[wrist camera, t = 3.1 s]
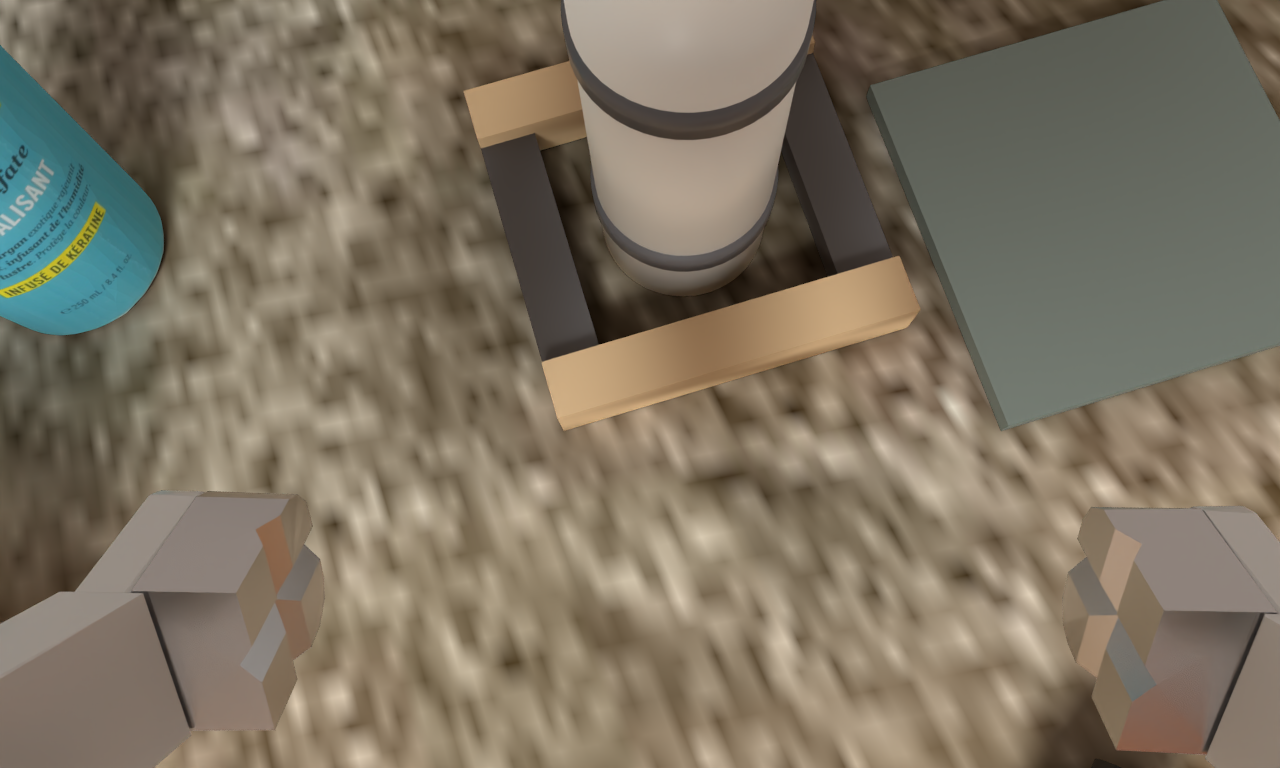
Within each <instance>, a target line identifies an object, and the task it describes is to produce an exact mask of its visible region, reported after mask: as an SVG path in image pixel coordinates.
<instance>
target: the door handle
mask: <svg viewBox="0 0 1280 768" xmlns="http://www.w3.org/2000/svg"><path fill="white" fill-rule="evenodd" d="M1092 768H1121V767H1118V766H1116V765H1114V764H1111V763H1109V762H1106V761H1103V760H1100V759H1095V761H1094V763H1093V765H1092Z"/></svg>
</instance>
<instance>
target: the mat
mask: <svg viewBox="0 0 1280 768" xmlns="http://www.w3.org/2000/svg"><path fill="white" fill-rule="evenodd" d="M866 98H867V100H868V103H869V105H870V107H871V110H872V112H873V115H874V117H875V120H876V122H877V125H878V127H879V130H880V132H881V135H882V137H883V140H884V142H885V145H886V147H887V150H888V152H889V155H890V157H891V160H892V162H893V165H894V167H895V169H896V172H897V174H898V177H899V179H900V182H901V184H902V187H903V189H904V192H905V194H906V197H907V199H908V202H909V204H910V207H911V209H912V212H913V214H914V217H915V219H916V222H917V224H918V227H919V229H920V231H921V234H922V236H923V239H924V241H925V244H926V246H927V249H928V251H929V254H930V256H931V259H932V261H933V264H934V266H935V269H936V271H937V274H938V276H939V279H940V281H941V284H942V286H943V289H944V291H945V293H946V296H947V298H948V301H949V303H950V306H951V308H952V311H953V313H954V316H955V318H956V321H957V323H958V326H959V328H960V331H961V333H962V336H963V338H964V341H965V343H966V346H967V348H968V351H969V353H970V355H971V358H972V360H973V363H974V365H975V368H976V370H977V373H978V375H979V378H980V380H981V383H982V385H983V388H984V390H985V393H986V395H987V398H988V400H989V403H990V405H991V408H992V410H993V413H994V415H995V417H996V420H997V422H998V425H999V427H1000V430H1001V431H1003V430H1006V429H1009V428H1012V427H1016V426H1019V425H1022V424H1025V423H1029V422H1032V421H1035V420H1038V419H1042V418H1045V417H1048V416H1052V415H1055V414H1058V413H1061V412H1065V411H1068V410H1071V409H1074V408H1078V407H1081V406H1084V405H1087V404H1091V403H1094V402H1097V401H1100V400H1104V399H1107V398H1110V397H1113V396H1117V395H1120V394H1123V393H1127V392H1130V391H1133V390H1136V389H1140V388H1143V387H1146V386H1149V385H1153V384H1156V383H1159V382H1162V381H1166V380H1169V379H1172V378H1175V377H1179V376H1182V375H1185V374H1188V373H1192V372H1195V371H1198V370H1202V369H1205V368H1208V367H1211V366H1215V365H1218V364H1221V363H1224V362H1228V361H1231V360H1234V359H1237V358H1241V357H1244V356H1247V355H1250V354H1254V353H1257V352H1260V351H1264V350H1267V349H1270V348H1273V347H1277V346H1280V120H1279V118H1278V116H1277V114H1276V113H1275V111H1274V109H1273V107H1272V105H1271V103H1270V101H1269V99H1268V97H1267V95H1266V93H1265V91H1264V89H1263V87H1262V86H1261V84H1260V82H1259V80H1258V78H1257V76H1256V74H1255V72H1254V70H1253V68H1252V66H1251V64H1250V62H1249V61H1248V59H1247V57H1246V55H1245V53H1244V51H1243V49H1242V47H1241V45H1240V43H1239V41H1238V39H1237V37H1236V36H1235V34H1234V32H1233V30H1232V28H1231V26H1230V24H1229V22H1228V20H1227V18H1226V16H1225V14H1224V12H1223V11H1222V9H1221V7H1220V5H1219V3H1218V1H1217V0H1163V1H1160V2H1157V3H1153V4H1150V5H1146V6H1143V7H1139V8H1136V9H1132V10H1129V11H1125V12H1122V13H1119V14H1115V15H1112V16H1108V17H1105V18H1101V19H1098V20H1094V21H1091V22H1087V23H1084V24H1081V25H1077V26H1074V27H1070V28H1067V29H1063V30H1060V31H1056V32H1053V33H1049V34H1046V35H1043V36H1039V37H1036V38H1032V39H1029V40H1025V41H1022V42H1018V43H1015V44H1011V45H1008V46H1004V47H1001V48H998V49H994V50H991V51H987V52H984V53H980V54H977V55H973V56H970V57H966V58H963V59H960V60H956V61H953V62H949V63H946V64H942V65H939V66H935V67H932V68H928V69H925V70H922V71H918V72H915V73H911V74H908V75H904V76H901V77H897V78H894V79H890V80H887V81H884V82H880V83H877V84H873V85H870V88H869V90H868V93H867V96H866Z"/></svg>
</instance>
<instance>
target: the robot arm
mask: <svg viewBox="0 0 1280 768" xmlns="http://www.w3.org/2000/svg"><path fill="white" fill-rule="evenodd" d="M312 527H313V525H312V521H311V517H310V513H309V510H308V506H307V502H306V501H305V500H304V499H303V498H302V497H300V496H299V495H298V494H271V493H244V492H217V491H207V492H202V491H169V490H161V491H159V492H156V493H154V494H151V495H149V496H148V497H147V498H146V500H145V501H144V502H143V504H142V505H141V506H140V508H139V509H138V510H137V511H136V513H135V514H134V515H133V517H132V518H131V519H130V520H129V522H128V523H127V524H126V526H125V527H124V528H123V530H122V531H121V532H120V533H119V535H118V536H117V537H116V539H115V540H114V541H113V543H112V544H111V545H110V546H109V548H108V549H107V550H106V552H105V553H104V554H103V556H102V557H101V558H100V559H99V561H98V562H97V563H96V565H95V566H94V567H93V569H92V570H91V571H90V572H89V574H88V575H87V576H86V578H85V579H84V580H83V581H82V583H81V584H80V585H79V587H78V588H77V589H76V591H75V592H58V593H56V594H54V595H53V596H51V597H49V598H47V599H45V600H43V601H41V602H40V603H38V604H36V605H34V606H32V607H30V608H28V609H27V610H25V611H23V612H21V613H19V614H17V615H16V616H14V617H12V618H10V619H8V620H6V621H4V622H3V623H1V624H0V768H154V767H155V766H156V765H158V764H159V763H160V762H161V761H162V760H163V759H164V758H166V757H167V756H168V755H169V754H170V753H171V752H172V751H174V750H175V749H176V748H177V747H178V746H179V745H180V744H182V743H183V742H184V741H185V740H186V739H187V738H188V737H190V736H191V731H190V730H275V729H276V726H277V724H278V722H279V720H280V717H281V715H282V713H283V711H284V708H285V706H286V704H287V702H288V699H289V697H290V695H291V693H292V690H293V688H294V686H295V684H296V681H297V676H296V671H295V667H294V663H293V660H294V659H295V658H297V657H298V656H299V655H301V654H302V653H304V652H305V651H306V650H308V649H309V648H310V647H312V644H313V642H314V640H315V637H316V635H317V632H318V630H319V627H320V624H321V618H322V612H323V606H324V600H325V592H324V575H323V571H322V566H321V561H320V559H319V558H318V557H317V556H316V555H315V554H314V553H313V552H312V551H311V550H310V549H309V548H308V547H307V546H305V545H304V543H305V541H306V539H307V537H308V535H309V533H310V531H311V529H312ZM1077 539H1078V541H1079V543H1080V545H1081V547H1082V549H1083V551H1084V553H1085V555H1086V558H1085V559H1083V560H1082V561H1081V562H1080V563H1079V564H1077V565H1076V566H1075V567H1074V568H1073V569H1071V570H1070V571H1069V572H1068V575H1067V580H1066V584H1065V588H1064V593H1063V597H1062V603H1063V626H1064V630H1065V634H1066V638H1067V643H1068V645H1069V648H1070V650H1071V652H1072V655H1073V657H1074V659H1075V662H1076V663H1077V664H1079V665H1080V666H1081V667H1083V668H1084V669H1085V670H1087V671H1088V672H1089V673H1091V674H1092V675H1093V676H1095V677H1096V678H1097V679H1096V683H1095V686H1094V689H1093V693H1092V696H1091V697H1092V699H1093V701H1094V703H1095V706H1096V708H1097V710H1098V712H1099V714H1100V716H1101V719H1102V721H1103V723H1104V725H1105V727H1106V729H1107V731H1108V734H1109V736H1110V738H1111V740H1112V742H1113V744H1114V747H1115V749H1116V750H1123V751H1143V752H1163V753H1183V754H1203V755H1206V757H1205V759H1206V760H1207V761H1208V762H1209V763H1211V764H1212V765H1213V766H1214V767H1215V768H1280V542H1279V541H1278V540H1277V538H1276V537H1275V536H1274V535H1273V533H1272V532H1271V531H1270V530H1269V529H1268V527H1267V526H1266V525H1265V524H1264V522H1263V521H1262V520H1261V519H1260V517H1259V516H1258V515H1257V514H1256V513H1255V512H1254V511H1252V510H1250V509H1248V508H1246V507H1244V506H1205V507H1191V508H1112V507H1091V508H1090V509H1089V511H1088V512H1087V514H1086V515H1085V517H1084V518H1083V520H1082V524H1081V527H1080V531H1079V534H1078V538H1077Z"/></svg>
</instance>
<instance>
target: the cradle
mask: <svg viewBox="0 0 1280 768" xmlns="http://www.w3.org/2000/svg"><path fill="white" fill-rule="evenodd" d="M814 46H815V40H814V38H813V35H812V37H811V42H810V46H809V50H808V54H807V57H806V61H805V64H804V67H803V69H802V71H801V73H800V75H799V78H798V80H797V81H796V85H795V89H794V94H793V98H792V103H791V107H790V112H789V117H788V121H787V126H786V130H785V135H784V139H783V144H782V149H781V152H782V155H783V158H784V160H785V163H786V166H787V168H788V171H789V174H790V176H791V179H792V182H793V184H794V187H795V190H796V192H797V195H798V198H799V201H800V203H801V206H802V209H803V211H804V214H805V217H806V219H807V222H808V225H809V227H810V230H811V233H812V235H813V238H814V241H815V243H816V246H817V249H818V251H819V254H820V257H821V260H822V262H823V265H824V268H825V270H826V273H827V276H828V277H826V278H822V279H819V280H816V281H812V282H809V283H805V284H802V285H799V286H795V287H792V288H789V289H785V290H782V291H779V292H775V293H772V294H768V295H765V296H762V297H758V298H755V299H752V300H748V301H745V302H742V303H738V304H735V305H731V306H728V307H725V308H721V309H718V310H715V311H711V312H708V313H705V314H701V315H698V316H694V317H691V318H688V319H684V320H681V321H678V322H674V323H671V324H668V325H664V326H661V327H657V328H654V329H651V330H647V331H644V332H641V333H637V334H634V335H631V336H627V337H624V338H620V339H617V340H614V341H610V342H607V343H604V344H600V345H599V343H598V340H597V337H596V334H595V330H594V327H593V324H592V320H591V317H590V314H589V311H588V307H587V304H586V301H585V297H584V294H583V291H582V288H581V284H580V281H579V278H578V274H577V271H576V268H575V264H574V261H573V258H572V255H571V251H570V248H569V245H568V241H567V238H566V235H565V232H564V228H563V225H562V222H561V218H560V215H559V212H558V208H557V205H556V202H555V199H554V195H553V192H552V189H551V185H550V182H549V179H548V176H547V172H546V169H545V166H544V162H543V159H542V156H541V152H540V150H543V149H547V148H550V147H554V146H557V145H561V144H564V143H568V142H571V141H575V140H578V139H582V138H585V137H587V134H586V128H585V122H584V116H583V110H582V105H581V99H580V93H579V87H578V81H577V78H576V76H575V74H574V72H573V69H572V67H571V64H570V61H567V62H564V63H560V64H557V65H553V66H550V67H546V68H543V69H539V70H536V71H532V72H529V73H525V74H522V75H518V76H515V77H511V78H508V79H504V80H501V81H497V82H494V83H490V84H487V85H483V86H480V87H476V88H472V89H469V90H465V91H464V94H465V98H466V101H467V105H468V108H469V112H470V115H471V119H472V122H473V126H474V129H475V133H476V136H477V139H478V142H479V145H480V147H481V150H482V154H483V157H484V161H485V164H486V168H487V171H488V175H489V178H490V182H491V185H492V189H493V192H494V196H495V199H496V202H497V206H498V209H499V213H500V216H501V220H502V223H503V227H504V230H505V234H506V237H507V241H508V244H509V248H510V251H511V255H512V258H513V262H514V265H515V269H516V272H517V276H518V279H519V283H520V286H521V290H522V293H523V297H524V300H525V304H526V307H527V311H528V314H529V317H530V321H531V324H532V328H533V331H534V335H535V338H536V342H537V345H538V349H539V352H540V356H541V359H542V362H541V363H542V366H543V370H544V373H545V377H546V380H547V384H548V387H549V391H550V394H551V398H552V401H553V405H554V408H555V412H556V415H557V418H558V420H559V422H560V424H561V426H562V428H563V430H564V431H566V430H569V429H572V428H575V427H579V426H582V425H585V424H589V423H592V422H595V421H599V420H602V419H605V418H609V417H612V416H615V415H619V414H622V413H625V412H629V411H632V410H635V409H639V408H642V407H645V406H649V405H652V404H655V403H659V402H662V401H665V400H669V399H672V398H675V397H679V396H682V395H685V394H689V393H692V392H695V391H699V390H702V389H705V388H709V387H712V386H715V385H718V384H722V383H725V382H728V381H732V380H735V379H738V378H742V377H745V376H748V375H752V374H755V373H758V372H762V371H765V370H768V369H772V368H775V367H778V366H782V365H785V364H788V363H792V362H795V361H798V360H802V359H805V358H808V357H812V356H815V355H818V354H822V353H825V352H828V351H832V350H835V349H838V348H842V347H845V346H848V345H852V344H855V343H858V342H862V341H865V340H868V339H871V338H875V337H878V336H881V335H885V334H888V333H891V332H895V331H898V330H901V329H905V328H907V327H908V326H909V324H910V323H911V322H912V320H913V319H914V318H915V316H916V315H917V314H918V312H919V311H920V310H921V309H920V306H919V304H918V301H917V299H916V296H915V294H914V291H913V289H912V286H911V284H910V281H909V279H908V276H907V274H906V271H905V268H904V266H903V263H902V261H901V258H900V256H896V257H893V256H892V254H891V251H890V248H889V246H888V243H887V241H886V238H885V236H884V233H883V231H882V228H881V226H880V223H879V220H878V218H877V215H876V213H875V210H874V208H873V205H872V203H871V200H870V198H869V195H868V192H867V190H866V187H865V185H864V182H863V180H862V177H861V175H860V172H859V170H858V167H857V164H856V162H855V159H854V157H853V154H852V152H851V149H850V147H849V144H848V141H847V139H846V136H845V134H844V131H843V129H842V126H841V124H840V121H839V119H838V116H837V113H836V111H835V108H834V106H833V103H832V101H831V98H830V96H829V93H828V91H827V88H826V85H825V83H824V80H823V78H822V75H821V73H820V70H819V68H818V65H817V63H816V60H815V57H814V55H813V50H814Z"/></svg>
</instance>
